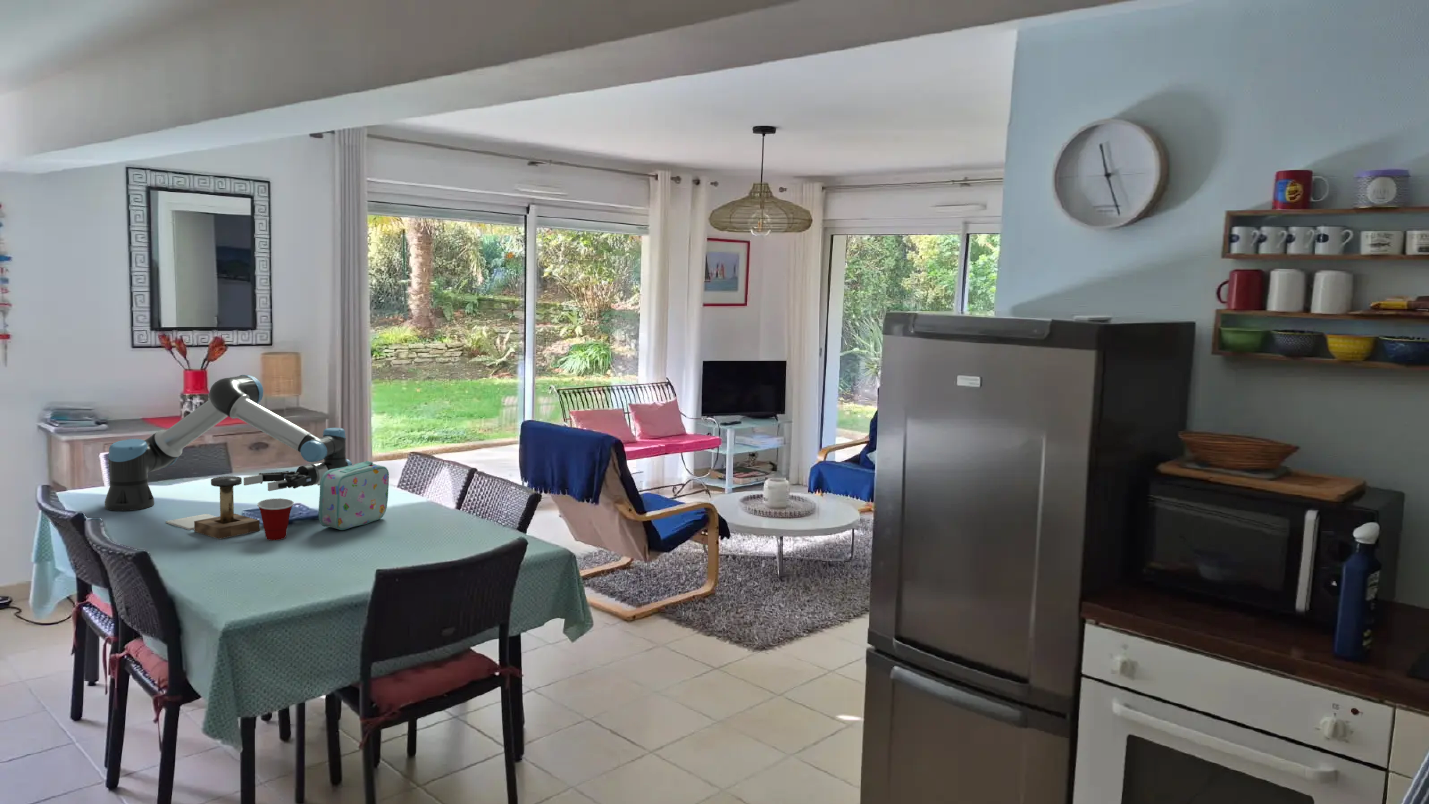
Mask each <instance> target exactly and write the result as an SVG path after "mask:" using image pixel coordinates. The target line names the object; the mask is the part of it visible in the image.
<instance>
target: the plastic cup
mask: <svg viewBox="0 0 1429 804" xmlns="http://www.w3.org/2000/svg"><path fill="white" fill-rule="evenodd" d="M256 505H257V507H258V508H259V512H260V516H261V521H262V526H263V529H264V534H265V537H266V540H267V541H268V540H269V541H281V540H284V539H286V536H287V532H288V527H289V521H290V515H291V512H292V511H291V510H292V508H293V506H294V501H293V500H291V499H288V498H269V499H264V500H260V501H259V502H258V503H257V504H256Z"/></svg>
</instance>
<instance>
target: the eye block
mask: <svg viewBox="0 0 1429 804" xmlns="http://www.w3.org/2000/svg"><path fill="white" fill-rule="evenodd" d="M260 526H261V525H260V520H259V519H256V518H253V517H248V516H245V515H241V514H237V513H234V522H231V523H226V524H222V523H220V515H219V516H216V517H214V518H209V519H203V520H198V521H194V529H193V530H194V532H195V533H197V534H201V535H205V536H208V537H211V538H214V539H218V540H221V539H227V538H231V537H236V536H240V535H246V534H250V533H254V532H259V531H261V530H260Z"/></svg>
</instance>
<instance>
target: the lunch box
mask: <svg viewBox="0 0 1429 804" xmlns="http://www.w3.org/2000/svg"><path fill="white" fill-rule="evenodd" d="M389 483H390V473H389V469H388V468H387V467H386V466H384V465H379V464H376V463H374V462H373V461H369V460H366V461H362V462H358V463H355V464H352V465H350V466H346V467H342V468H336V469H330V470H328V471H326V472H325V473H324V474H323V476H322V478H321V481H320V485H319V497H318V498H319V500H318V513H317V515H318V520H319V523H320V525H322V526H323V527H325V528H327V527H330V528H334V529H337V530H340V531H344V530H348V529H350V528H355V527H358V526H364V525H367V524H369V523H372V522H375V521H378V520H380V519H382V518H383V517H384V515H385V514H386V511H387V508H388V499H389V487H390V486H389Z"/></svg>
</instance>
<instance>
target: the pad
mask: <svg viewBox="0 0 1429 804" xmlns="http://www.w3.org/2000/svg"><path fill="white" fill-rule="evenodd" d="M214 517H217V516H215V515H212V514H209V513H204V514H198V515H192V516H187V517H181V518H174V519H171V520H165V524H169V525H172V526H175V527H178V528H180V529H181V528H182V529H184V530H188V531H191V530H194V521H198V520H203V519H209V518H214Z"/></svg>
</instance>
